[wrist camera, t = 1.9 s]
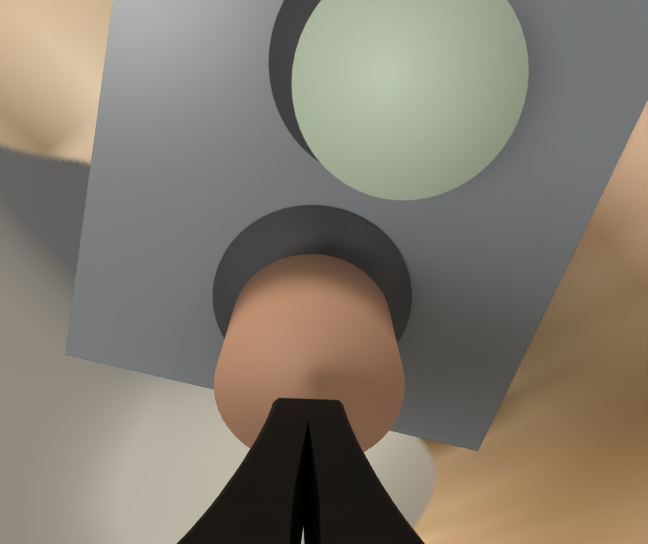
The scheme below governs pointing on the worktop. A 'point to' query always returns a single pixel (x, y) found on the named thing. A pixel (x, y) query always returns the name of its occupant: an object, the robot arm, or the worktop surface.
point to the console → (337, 199)
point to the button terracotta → (310, 347)
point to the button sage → (409, 91)
